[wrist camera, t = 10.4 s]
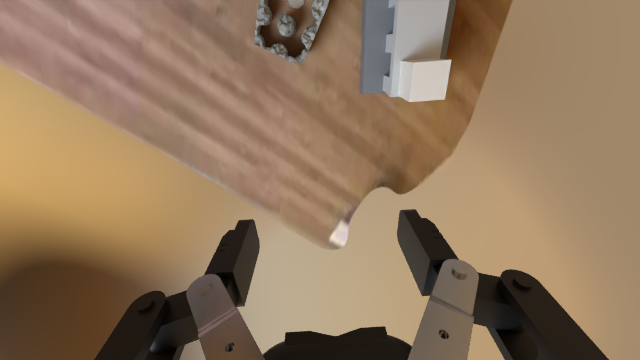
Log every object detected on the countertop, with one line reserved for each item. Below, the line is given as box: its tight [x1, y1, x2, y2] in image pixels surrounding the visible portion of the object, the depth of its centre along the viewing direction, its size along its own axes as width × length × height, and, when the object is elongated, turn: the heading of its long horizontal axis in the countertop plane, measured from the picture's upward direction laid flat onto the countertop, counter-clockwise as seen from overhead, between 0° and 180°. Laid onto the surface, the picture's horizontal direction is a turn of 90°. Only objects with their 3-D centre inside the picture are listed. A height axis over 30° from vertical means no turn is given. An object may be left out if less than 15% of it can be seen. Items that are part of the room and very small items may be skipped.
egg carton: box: [254, 0, 329, 65], centre depth 30 cm, size 11×8×4 cm
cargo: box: [398, 58, 451, 102], centre depth 28 cm, size 4×4×4 cm
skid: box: [383, 0, 449, 97], centre depth 30 cm, size 12×6×4 cm, turn 3°
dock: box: [360, 0, 457, 94], centre depth 32 cm, size 12×11×2 cm
